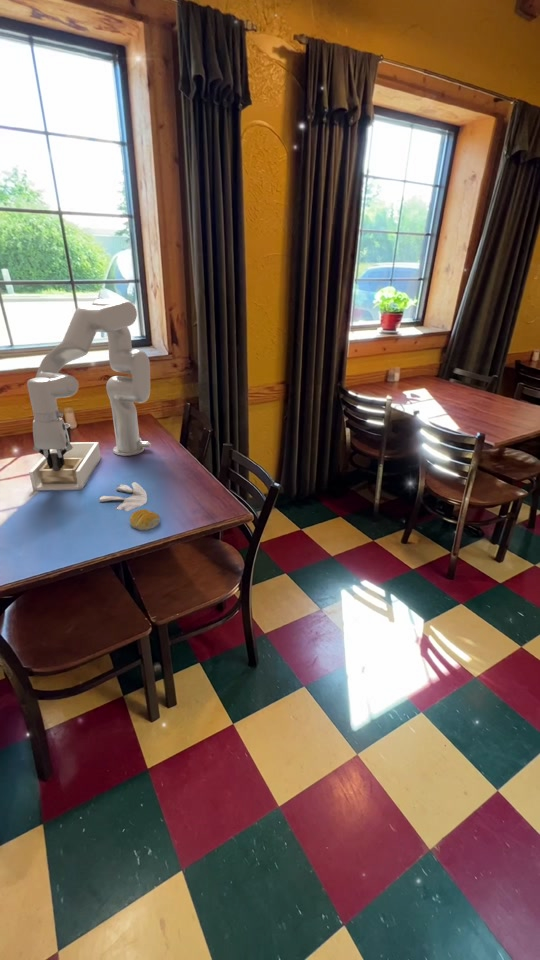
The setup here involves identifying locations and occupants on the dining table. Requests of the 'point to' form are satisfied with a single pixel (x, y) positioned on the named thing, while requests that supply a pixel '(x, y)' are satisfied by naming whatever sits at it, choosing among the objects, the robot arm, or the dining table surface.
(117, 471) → the dining table surface
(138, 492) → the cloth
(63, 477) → the box
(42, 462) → the bay
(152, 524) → the bread roll
